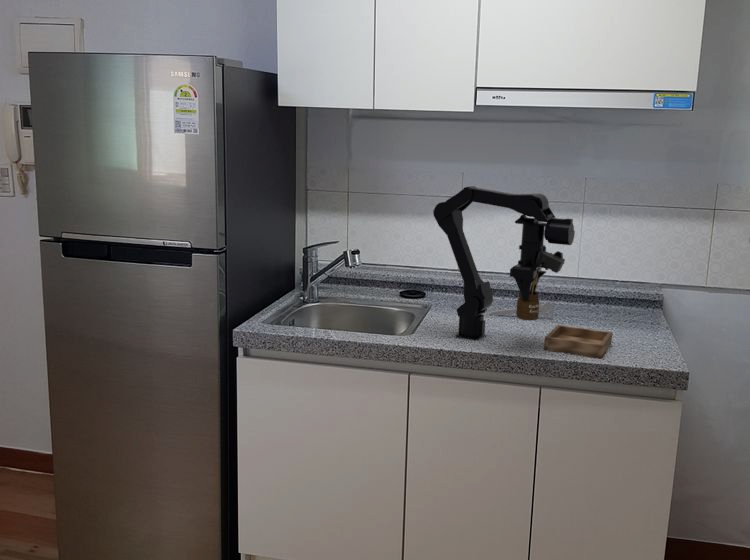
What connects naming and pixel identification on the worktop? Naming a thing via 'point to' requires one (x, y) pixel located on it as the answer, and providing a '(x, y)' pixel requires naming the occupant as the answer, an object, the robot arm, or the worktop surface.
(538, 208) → the robot arm
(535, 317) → the utensil holder
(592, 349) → the tray
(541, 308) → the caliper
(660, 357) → the worktop surface
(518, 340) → the worktop surface
